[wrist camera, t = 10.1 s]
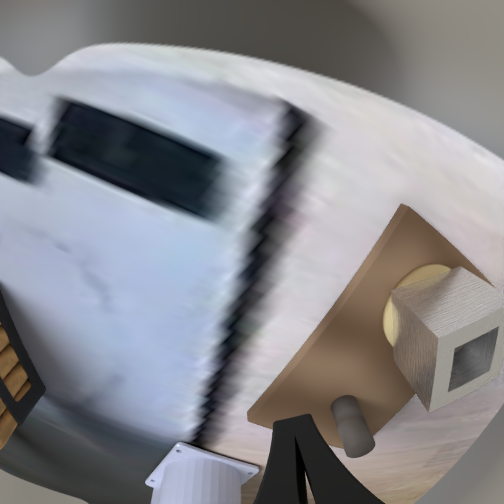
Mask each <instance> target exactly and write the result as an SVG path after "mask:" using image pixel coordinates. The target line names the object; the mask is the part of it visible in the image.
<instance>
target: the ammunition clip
mask: <svg viewBox="0 0 504 504" xmlns="http://www.w3.org/2000/svg"><path fill="white" fill-rule="evenodd" d="M45 391H46V388H45V386H44V384H43V382H42V381H41V379H40V377H39V375H38V373H37V371H36V370H35V368H34V366H33V364H32V362H31V360H30V358H29V356H28V354H27V352H26V350H25V348H24V346H23V344H22V341H21V339H20V337H19V335H18V333H17V330H16V328H15V326H14V323H13V321H12V319H11V316H10V314H9V311H8V309H7V306H6V304H5V301H4V299H3V296H2V293H1V291H0V450H1V449H2V448H3V447H4V445H5V444H6V442H7V440H8V439H9V437H10V436H11V434H12V432H13V431H14V429H15V428H16V426H17V425H18V426H21V425H22V423H23V422H24V420H25V419H26V417H27V416H28V414H29V413H30V411H31V410H32V409H33V407H34V406H35V405H36V403H37V402H38V400H39V399H40V398H41V396H42V395H43V394H44V392H45Z"/></svg>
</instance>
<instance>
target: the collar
mask: <svg viewBox="0 0 504 504" xmlns="http://www.w3.org/2000/svg"><path fill="white" fill-rule="evenodd" d="M391 299H392V318H393V360H394V361H395V363H396V364H397V366H398V367H399V369H400V370H401V372H402V373H403V375H404V376H405V378H406V379H407V381H408V382H409V384H410V385H411V387H412V388H413V390H414V391H415V393H416V394H417V396H418V397H419V399H420V400H421V402H422V403H423V405H424V406H425V408H426V410H427V411H428V413H430V412H432V411H435V410H437V409H439V408H441V407H443V406H445V405H447V404H449V403H451V402H453V401H455V400H457V399H459V398H461V397H463V396H465V395H467V394H469V393H471V392H472V391H474V390H476V389H478V388H480V387H482V386H483V385H485V384H487V383H488V382H490V381H492V380H494V379H495V378H497V377H499V374H500V371H501V367H502V363H503V359H504V293H502V292H501V291H499V290H497V289H496V288H494V287H493V286H491V285H490V284H488V283H487V282H485V281H484V280H482V279H480V278H479V277H477V276H476V275H474V274H472V273H471V272H469V271H468V270H466V269H464V268H463V267H461V266H459V267H457V268H454V269H451V270H449V271H446V272H443V273H440V274H437V275H435V276H432V277H429V278H426V279H423V280H420V281H417V282H414V283H411V284H409V285H406V286H402V287H399V288H396V289H393V290H391ZM463 344H464V346H463V347H462V348H461V349H460V350H458V351H456V352H454V350H455V348H456V347H459V346H461V345H463Z"/></svg>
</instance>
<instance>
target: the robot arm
mask: <svg viewBox="0 0 504 504" xmlns="http://www.w3.org/2000/svg"><path fill="white" fill-rule="evenodd" d="M258 472H259V467H258V466H255V465H251V464H247V463H244V462H240V461H237V460H234V459H230V458H227V457H224V456H221V455H217V454H214V453H211V452H208V451H205V450H203V449H200V448H197V447H194V446H191V445H189V444H186V443H183V442H179V443H177V444H176V445H175V446H174V447H173V448H172V450H171V451H170V452H169V453H168V455H167V456H166V457H165V458H164V459H163V461H162V462H161V463H160V464H159V465H158V466H157V468H156V469H155V470H154V471H153V472H152V474H151V475H150V476H149V477H148V478H147V479H146V482H145V483H146V485H148V486H151V487H153V488H154V490H153V495H152V500H151V504H241V486H242V485H243V484H244V483H245V482H247V481H248V480H249V479H251V478H252V477H253V476H254V475H256V474H257V473H258ZM305 472H306V476H307V479H308V482H309V485H310V488H311V491H312V494H313V497H314V500H315V503H316V504H385V503H384V502H382V501H381V500H380V499H378V498H377V497H376V496H375V495H373V494H372V493H371V492H370V491H369V490H368V489H367V488H365V487H364V486H363V485H362V484H361V483H360V482H359V481H358V480H357V479H356V478H355V477H354V476H353V475H352V474H351V473H350V472H349V471H348V469H347V468H346V467H345V466H344V465H343V464H342V463H341V461H340V460H339V459H338V458H337V456H336V455H335V454H334V452H333V451H332V450H331V448H330V447H329V446H328V444H327V443H326V441H325V440H324V438H323V437H322V435H321V433H320V432H319V430H318V428H317V426H316V424H315V422H314V420H313V417H312V415H311V414H309V413H308V414H304V415H300V416H295V417H291V418H287V419H282V420H278V421H275V422H274V423H273V433H272V442H271V447H270V453H269V457H268V461H267V465H266V469H265V473H264V476H263V479H262V482H261V485H260V488H259V491H258V493H257V496H256V499H255V501H254V503H253V504H308V499H307V489H306V478H305Z"/></svg>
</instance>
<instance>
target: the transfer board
mask: <svg viewBox="0 0 504 504" xmlns="http://www.w3.org/2000/svg"><path fill="white" fill-rule="evenodd" d="M459 266H461V267H463V268H464V269H466V270H468V271H469V272H471V273H472V274H474V275H476V276H477V277H479V278H480V279H482V280H484V281H485V282H487V283H488V284H490V285H491V286H493V285H492V284H491V283H490V282H489V281H488V280H487V279H486V278H485V276H484V275H483V274H482V273H481V272H480V271H479V270H478V269H477V268H476V267H475V266H474V265H473V264H472V263H471V262H470V261H469V260H468V259H467V258H466V257H465V256H464V255H462V254H461V253H460V252H459V251H458V250H457V249H456V248H455V247H454V246H453V245H452V244H451V243H450V242H449V241H448V240H447V239H446V238H444V237H443V236H442V235H441V234H440V233H439V232H438V231H437V230H436V229H434V228H433V227H432V226H431V225H430V224H429V223H428V222H427V221H425V220H424V219H423V218H422V217H421V216H420V215H418V214H417V213H416V212H415V211H414V210H413V209H411V208H410V207H409V206H406V205H404V204H400V206H399V208H398V209H397V211H396V213H395V214H394V216H393V218H392V219H391V221H390V222H389V224H388V226H387V227H386V229H385V230H384V232H383V233H382V235H381V236H380V238H379V240H378V241H377V243H376V244H375V246H374V247H373V249H372V250H371V252H370V253H369V255H368V256H367V258H366V259H365V261H364V262H363V264H362V265H361V267H360V268H359V270H358V271H357V272H356V274H355V275H354V277H353V278H352V280H351V281H350V283H349V284H348V285H347V287H346V288H345V290H344V291H343V292H342V294H341V295H340V297H339V298H338V299H337V301H336V302H335V304H334V305H333V306H332V308H331V309H330V310H329V312H328V313H327V314H326V316H325V317H324V318H323V320H322V321H321V322H320V324H319V325H318V326H317V328H316V329H315V330H314V332H313V333H312V334H311V336H310V337H309V338H308V339H307V341H306V342H305V343H304V345H303V346H302V347H301V348H300V350H299V351H298V352H297V353H296V355H295V356H294V357H293V358H292V360H291V361H290V362H289V363H288V365H287V366H286V367H285V368H284V369H283V371H282V372H281V373H280V374H279V375H278V377H277V378H276V379H275V380H274V381H273V383H272V384H271V385H270V386H269V387H268V389H267V390H266V391H265V392H264V393H263V394H262V396H261V397H260V398H259V399H258V400H257V401H256V402H255V404H254V405H253V406H252V407H251V408H250V409H249V410H248V412H247V418H248V421H249V422H251V423H254V424H257V425H260V426H263V427H266V428H269V429H273V423H274V422H275V421H278V420H282V419H287V418H291V417H295V416H300V415H304V414H308V413H309V414H311V415H312V417H313V420H314V422H315V424H316V426H317V428H318V430H319V432H320V433H321V435H322V437H323V438H324V440H325V441H326V443H327V444H328V445H330V446H334V447H338V448H343V449H344V450H345V453H346V455H347V456H348V457H350V458H357V457H361V456H364V455H366V454H368V453H369V452H370V451H372V450H373V448H374V447H375V441H374V439H373V435H374V434H375V433H376V432H378V431H379V430H380V429H381V428H382V427H383V426H384V425H385V424H386V423H387V422H388V421H389V420H390V419H391V418H392V417H393V416H394V415H395V414H396V413H397V412H398V411H399V410H400V409H401V408H402V407H403V406H404V405H405V404H406V403H407V402H408V401H409V400H410V399H411V398H412V397H413V395H414V394H415V391H414V390H413V388H412V387H411V385H410V384H409V382H408V381H407V379H406V378H405V376H404V375H403V373H402V372H401V370H400V369H399V367H398V366H397V364H396V363H395V361H394V360H393V318H392V299H391V290H393V289H396V288H399V287H402V286H406V285H409V284H411V283H414V282H417V281H420V280H423V279H426V278H429V277H432V276H435V275H437V274H440V273H443V272H446V271H449V270H451V269H454V268H457V267H459ZM493 287H494V286H493ZM494 288H495V287H494ZM463 346H464V344H463V345H461V346H459V347H456V348H455V350H454V352H456V351H458V350H460V349H461V348H462V347H463Z"/></svg>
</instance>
